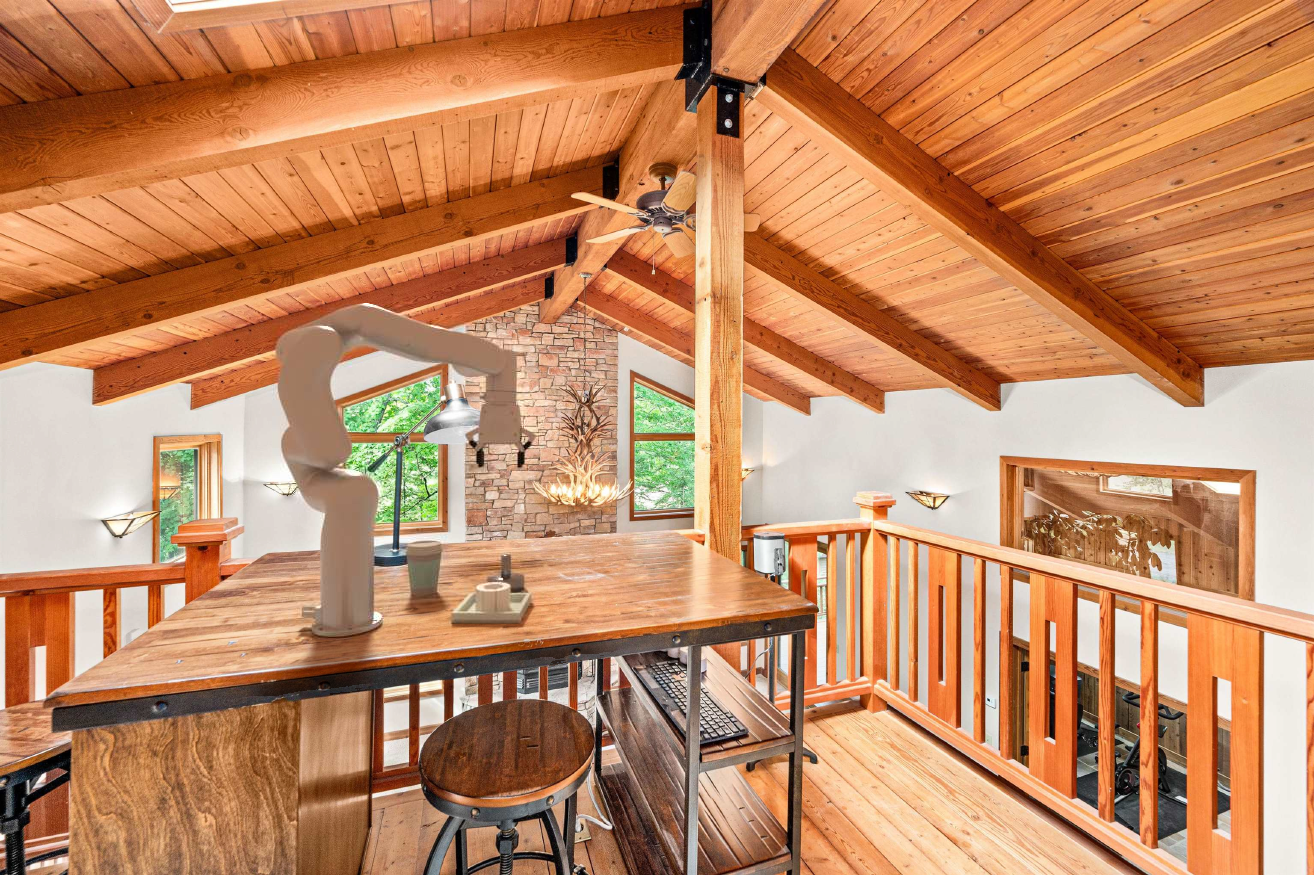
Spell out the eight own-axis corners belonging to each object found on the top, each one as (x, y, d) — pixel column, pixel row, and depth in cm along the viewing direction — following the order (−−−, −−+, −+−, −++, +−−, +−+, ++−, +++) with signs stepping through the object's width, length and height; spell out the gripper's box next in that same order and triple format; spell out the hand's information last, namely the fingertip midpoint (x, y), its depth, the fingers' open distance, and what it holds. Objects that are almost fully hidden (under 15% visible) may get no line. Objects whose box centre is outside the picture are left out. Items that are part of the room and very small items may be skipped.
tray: (451, 622, 119) (451, 612, 119) (470, 601, 133) (470, 592, 133) (519, 623, 120) (519, 613, 120) (531, 601, 134) (531, 592, 134)
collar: (472, 614, 123) (472, 591, 123) (481, 604, 130) (481, 582, 130) (505, 614, 123) (505, 591, 123) (512, 604, 130) (512, 582, 130)
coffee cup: (448, 588, 144) (449, 540, 143) (432, 598, 135) (432, 548, 135) (416, 586, 144) (416, 539, 144) (397, 597, 136) (397, 546, 136)
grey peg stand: (482, 594, 139) (483, 559, 139) (491, 584, 148) (492, 551, 148) (520, 594, 139) (520, 559, 139) (527, 584, 148) (527, 551, 148)
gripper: (461, 397, 140) (461, 468, 140) (533, 399, 141) (532, 469, 141) (470, 399, 147) (469, 465, 148) (538, 400, 148) (537, 466, 149)
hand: (500, 467), depth 145 cm, fingers open, 9 cm apart
